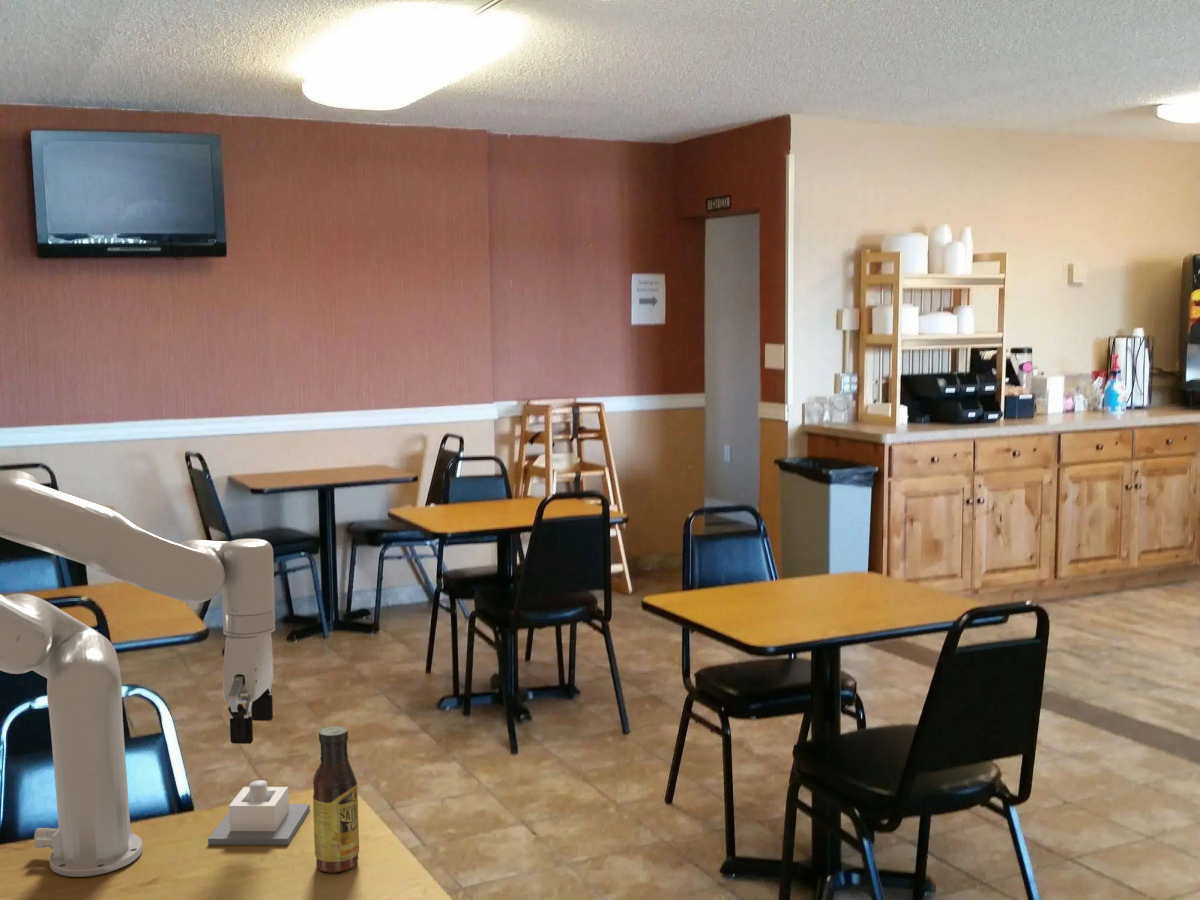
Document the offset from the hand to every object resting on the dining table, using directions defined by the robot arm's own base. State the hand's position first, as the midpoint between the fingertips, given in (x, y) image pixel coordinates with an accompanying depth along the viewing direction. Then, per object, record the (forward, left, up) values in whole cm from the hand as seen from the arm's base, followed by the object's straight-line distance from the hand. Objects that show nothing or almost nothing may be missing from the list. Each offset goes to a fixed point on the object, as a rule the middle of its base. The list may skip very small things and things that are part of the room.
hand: (252, 731), depth 180 cm
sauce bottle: (+15, -12, -16) cm, 25 cm away
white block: (0, 0, -15) cm, 14 cm away
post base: (0, 0, -16) cm, 15 cm away
